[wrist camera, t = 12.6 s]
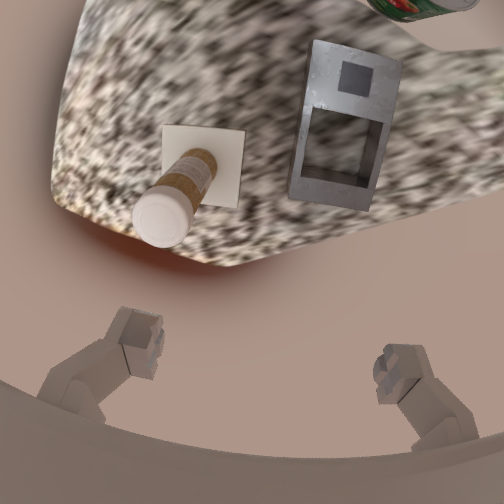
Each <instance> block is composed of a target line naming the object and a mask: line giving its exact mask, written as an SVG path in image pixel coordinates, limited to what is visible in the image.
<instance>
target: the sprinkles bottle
mask: <svg viewBox="0 0 504 504" xmlns="http://www.w3.org/2000/svg"><path fill="white" fill-rule="evenodd" d="M216 174H217V163H216V160H215V158H214V157H213V156H212V154H211V153H209V152H208V151H206V150H204V149H200V148H194V149H190V150H188V151H186V152H185V153H184V154H182V156H181V157H180V159H179V160H177V161H176V162H175V163H174V164H173V165H172V166H171V167H170V168H169V169H168V170H167V171H166V172H165V173H164V174H163V175H162V176H161V177H160V179H159V180H158V181H157V182H156V184H155V185H154V186H153V187H152V188H150V189H148V190H147V191H146V192H145V193H144V194H143V195H142V196H141V197H140V198H139V199H138V201H137V202H136V204H135V205H134V208H133V211H132V223H133V226H134V228H135V230H136V232H137V234H138V235H139V236H140V237H141V238H142V239H143V240H144V241H145V242H147V243H149V244H151V245H153V246H156V247H161V248H167V247H172V246H175V245H177V244H179V243H180V242H181V241H182V240H183V239H184V238H185V237H186V235H187V233H188V231H189V229H190V227H191V225H192V223H193V218H194V214H195V212H196V211H197V209H198V207H199V205H200V203H201V201H202V200H203V198H204V197H205V195H206V193H207V191H208V189H209V187H210V185H211V182H212V181H213V180H214V178H215V177H216Z"/></svg>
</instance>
